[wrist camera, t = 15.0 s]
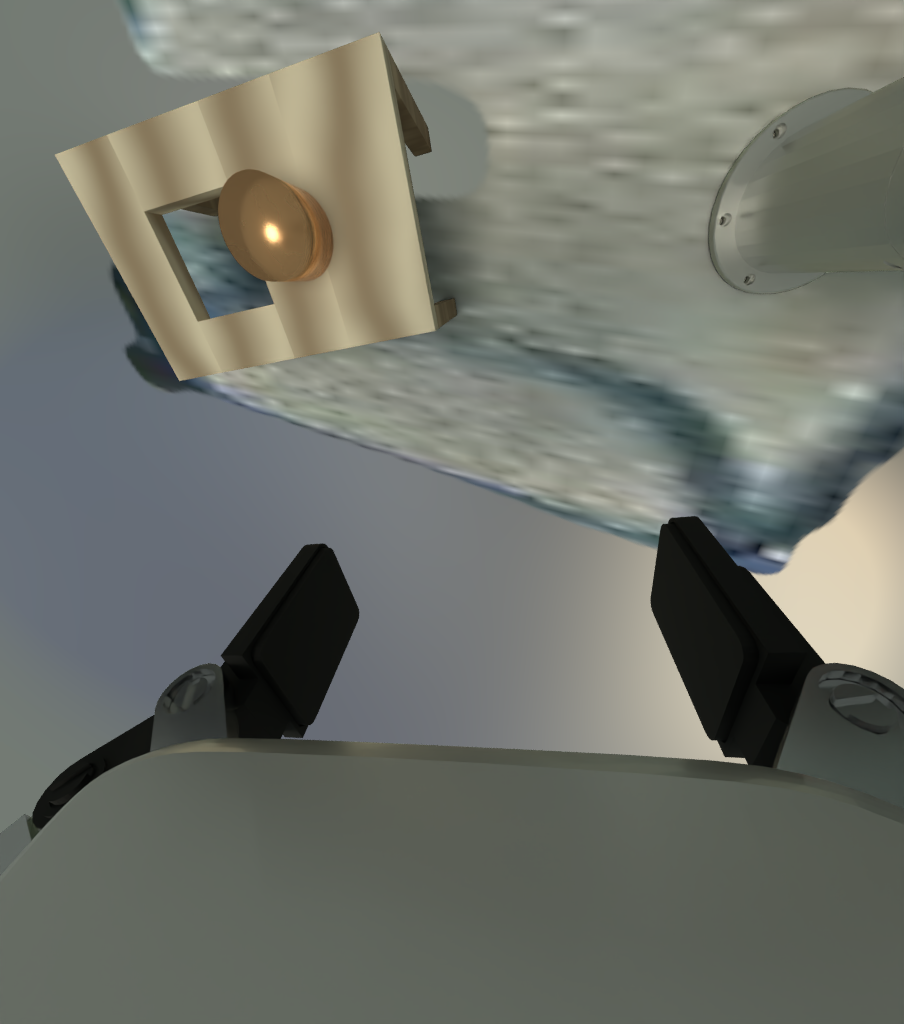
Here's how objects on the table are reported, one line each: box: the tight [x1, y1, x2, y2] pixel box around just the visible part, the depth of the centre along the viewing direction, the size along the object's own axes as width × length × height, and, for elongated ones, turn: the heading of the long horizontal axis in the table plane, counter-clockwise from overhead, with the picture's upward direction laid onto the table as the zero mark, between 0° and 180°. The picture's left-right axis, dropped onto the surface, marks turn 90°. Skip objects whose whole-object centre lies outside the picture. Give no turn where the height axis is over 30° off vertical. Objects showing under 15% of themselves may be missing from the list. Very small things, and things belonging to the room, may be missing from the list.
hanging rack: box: [55, 32, 457, 381], centre depth 30 cm, size 22×14×14 cm, turn 101°
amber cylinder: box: [218, 169, 333, 282], centre depth 26 cm, size 5×5×14 cm
